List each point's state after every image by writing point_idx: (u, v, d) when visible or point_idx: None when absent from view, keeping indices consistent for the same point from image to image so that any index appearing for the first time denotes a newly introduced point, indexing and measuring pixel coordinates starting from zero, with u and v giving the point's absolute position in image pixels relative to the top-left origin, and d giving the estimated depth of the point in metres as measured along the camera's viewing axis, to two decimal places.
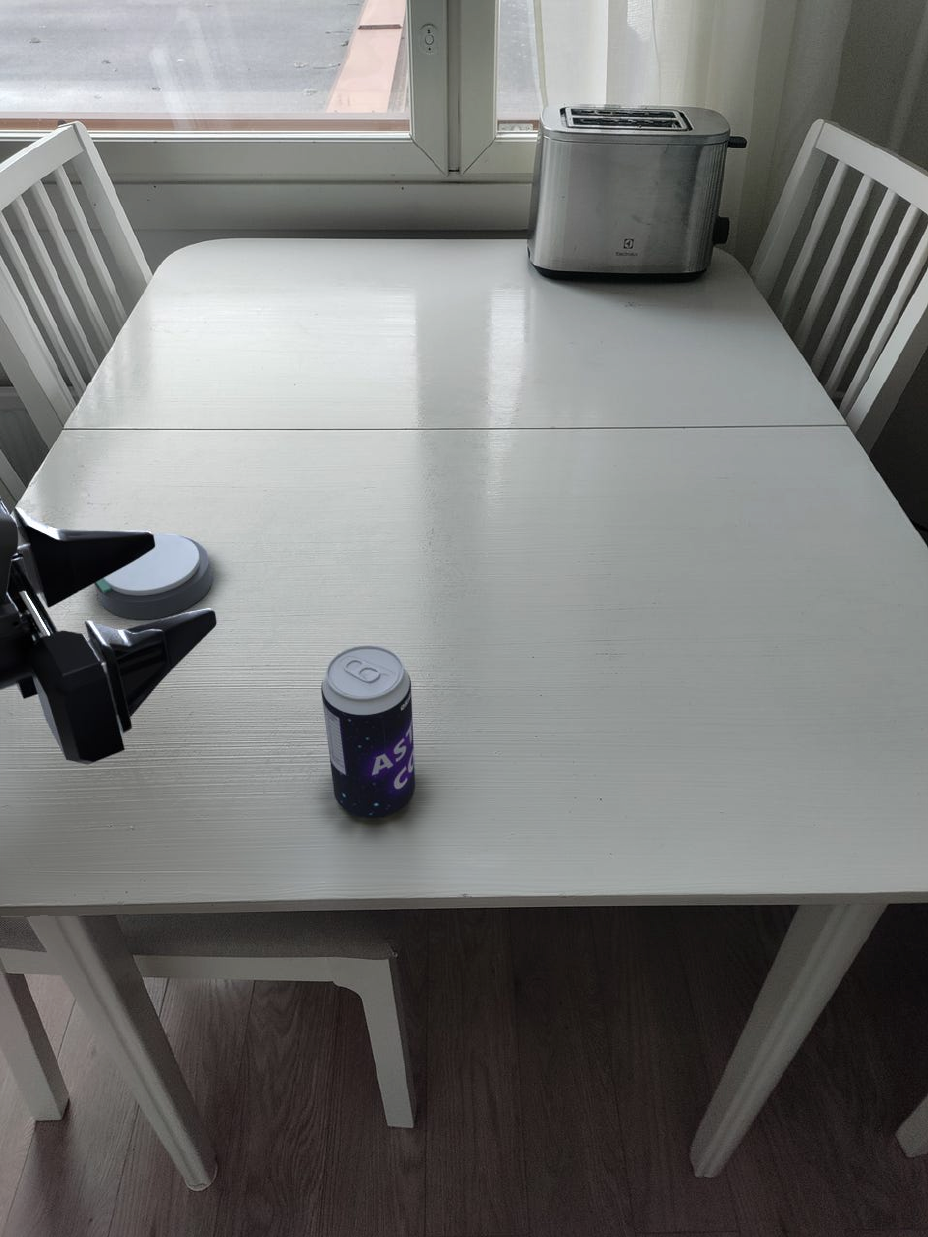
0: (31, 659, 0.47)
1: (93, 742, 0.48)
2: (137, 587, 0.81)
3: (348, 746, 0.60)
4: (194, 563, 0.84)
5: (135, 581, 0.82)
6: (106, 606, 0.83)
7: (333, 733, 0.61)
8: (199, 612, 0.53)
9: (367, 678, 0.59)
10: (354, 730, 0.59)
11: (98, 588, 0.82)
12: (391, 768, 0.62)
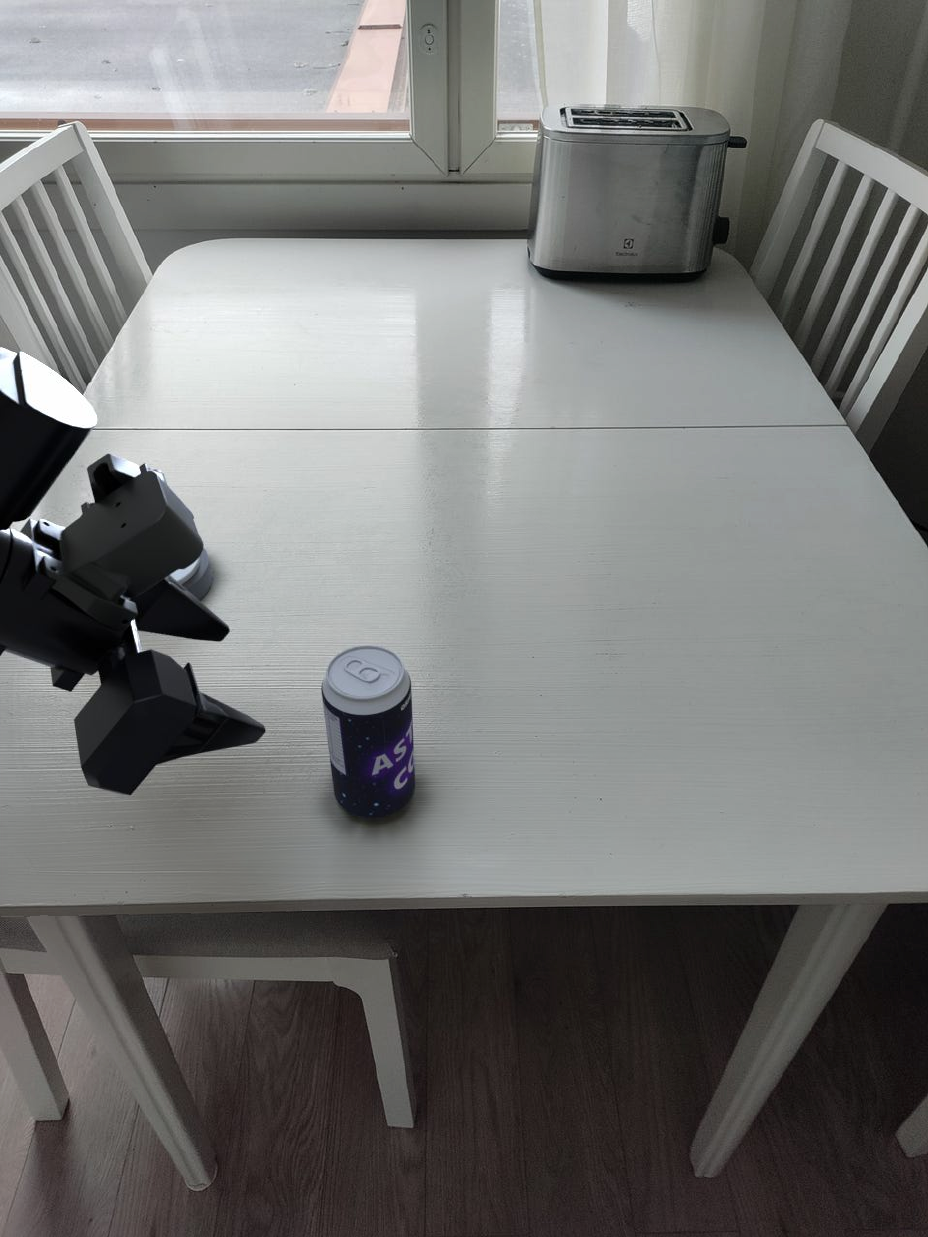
0: (129, 661, 0.45)
1: (120, 769, 0.44)
2: None
3: (348, 746, 0.60)
4: (194, 563, 0.84)
5: None
6: None
7: (333, 733, 0.61)
8: (256, 722, 0.53)
9: (367, 678, 0.59)
10: (354, 730, 0.59)
11: None
12: (391, 768, 0.62)
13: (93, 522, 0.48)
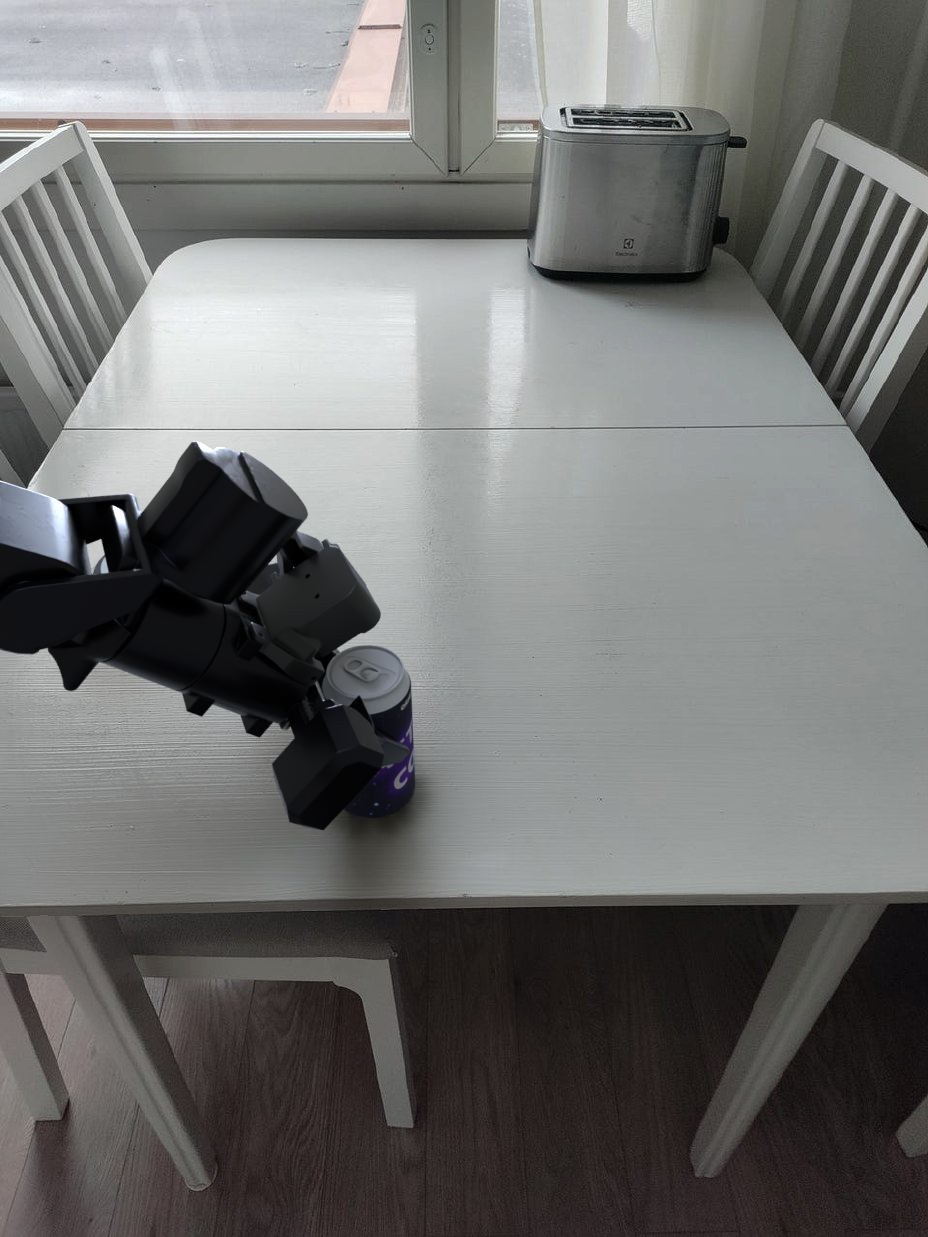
0: (325, 715, 0.52)
1: (319, 809, 0.52)
2: None
3: None
4: None
5: None
6: None
7: None
8: (402, 745, 0.61)
9: (367, 678, 0.59)
10: None
11: None
12: (391, 768, 0.62)
13: (286, 591, 0.55)
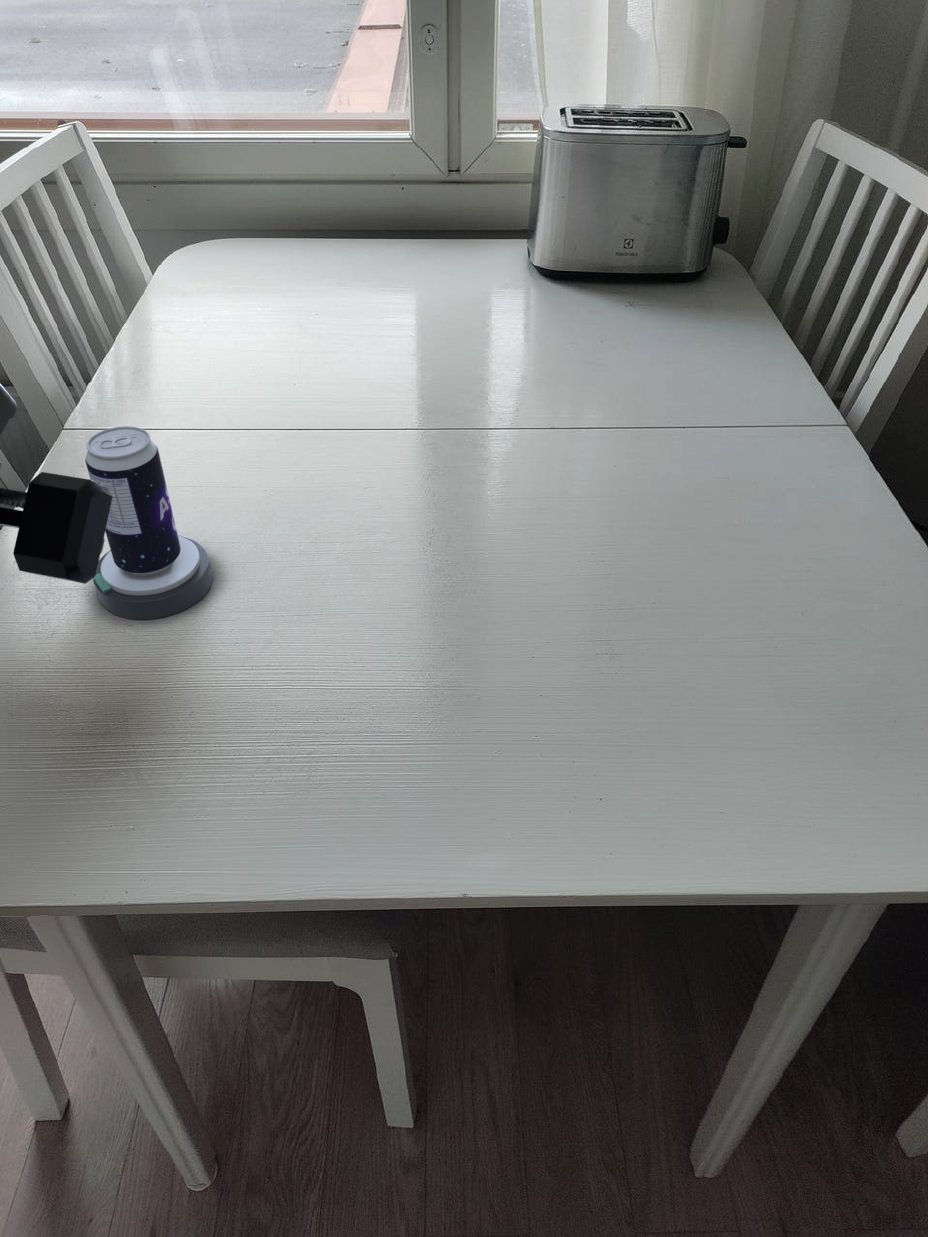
0: (38, 481, 0.57)
1: (87, 552, 0.58)
2: (137, 587, 0.81)
3: (139, 501, 0.77)
4: (194, 563, 0.84)
5: (135, 581, 0.82)
6: (106, 606, 0.83)
7: (123, 498, 0.77)
8: None
9: (125, 443, 0.76)
10: (141, 482, 0.76)
11: (98, 588, 0.82)
12: (168, 510, 0.80)
13: None
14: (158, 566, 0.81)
